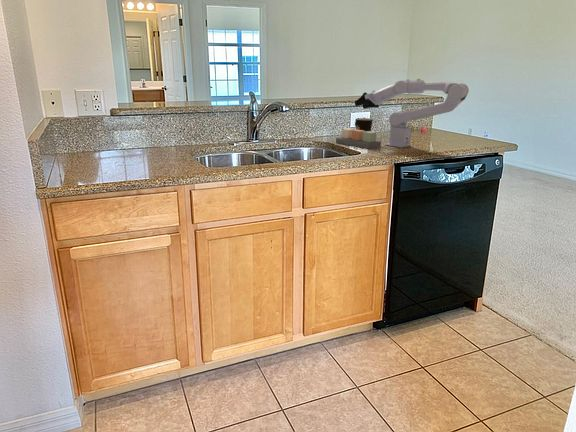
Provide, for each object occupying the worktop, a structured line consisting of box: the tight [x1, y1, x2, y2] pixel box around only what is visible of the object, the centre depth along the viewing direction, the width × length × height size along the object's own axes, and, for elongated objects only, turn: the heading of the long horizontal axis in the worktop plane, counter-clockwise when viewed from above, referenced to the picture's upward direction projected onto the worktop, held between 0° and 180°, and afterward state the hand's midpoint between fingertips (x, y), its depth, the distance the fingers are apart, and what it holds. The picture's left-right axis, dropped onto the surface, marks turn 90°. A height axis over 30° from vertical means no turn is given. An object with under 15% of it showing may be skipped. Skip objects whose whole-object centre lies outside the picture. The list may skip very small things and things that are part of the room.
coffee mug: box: [354, 117, 374, 132], centre depth 226 cm, size 12×9×10 cm
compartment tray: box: [335, 136, 382, 150], centre depth 211 cm, size 20×9×2 cm, turn 42°
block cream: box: [340, 127, 356, 139], centre depth 214 cm, size 4×4×4 cm
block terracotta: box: [352, 129, 365, 140], centre depth 209 cm, size 4×4×4 cm
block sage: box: [362, 131, 377, 142], centre depth 205 cm, size 4×4×4 cm
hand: (359, 105), depth 215 cm, fingers open, 7 cm apart
